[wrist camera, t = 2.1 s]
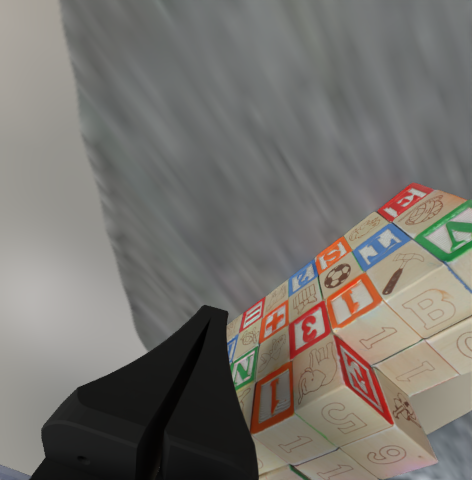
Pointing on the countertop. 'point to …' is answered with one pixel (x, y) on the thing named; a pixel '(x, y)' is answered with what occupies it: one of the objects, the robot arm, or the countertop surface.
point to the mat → (443, 402)
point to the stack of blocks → (359, 344)
